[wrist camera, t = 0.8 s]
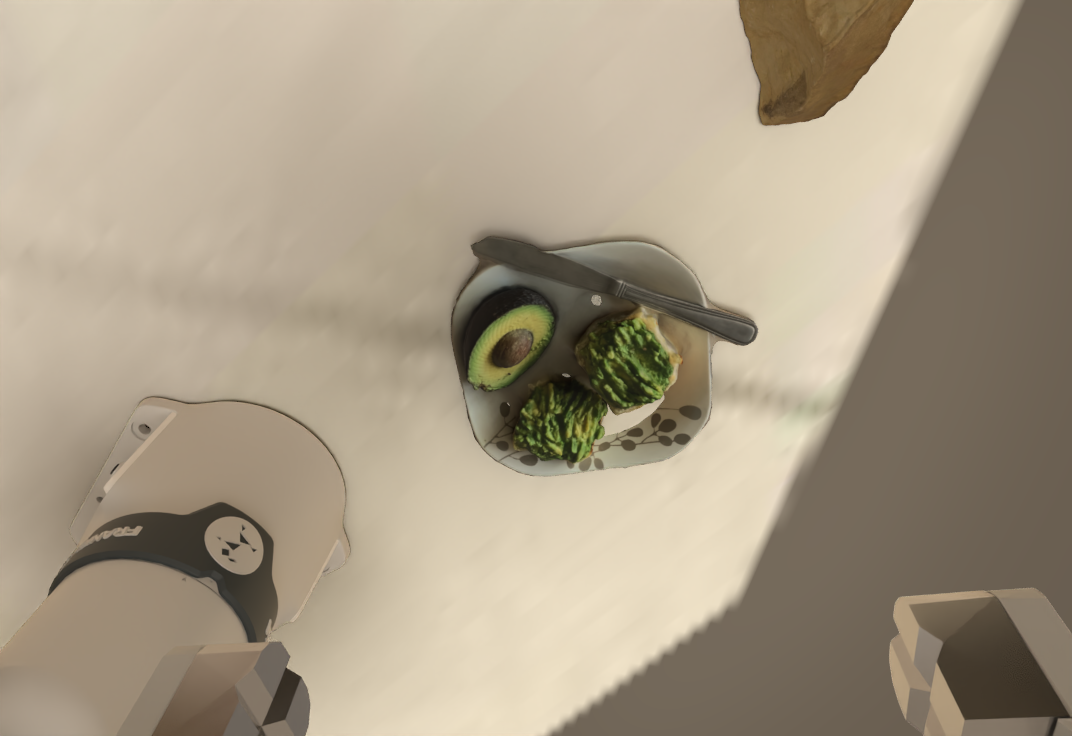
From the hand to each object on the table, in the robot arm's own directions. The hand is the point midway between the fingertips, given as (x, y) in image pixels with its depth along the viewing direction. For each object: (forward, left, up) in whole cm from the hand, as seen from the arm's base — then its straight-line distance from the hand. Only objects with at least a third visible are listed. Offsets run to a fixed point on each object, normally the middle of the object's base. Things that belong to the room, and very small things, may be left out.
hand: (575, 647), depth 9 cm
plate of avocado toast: (-8, -10, -36) cm, 38 cm away
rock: (+13, -2, -36) cm, 38 cm away
